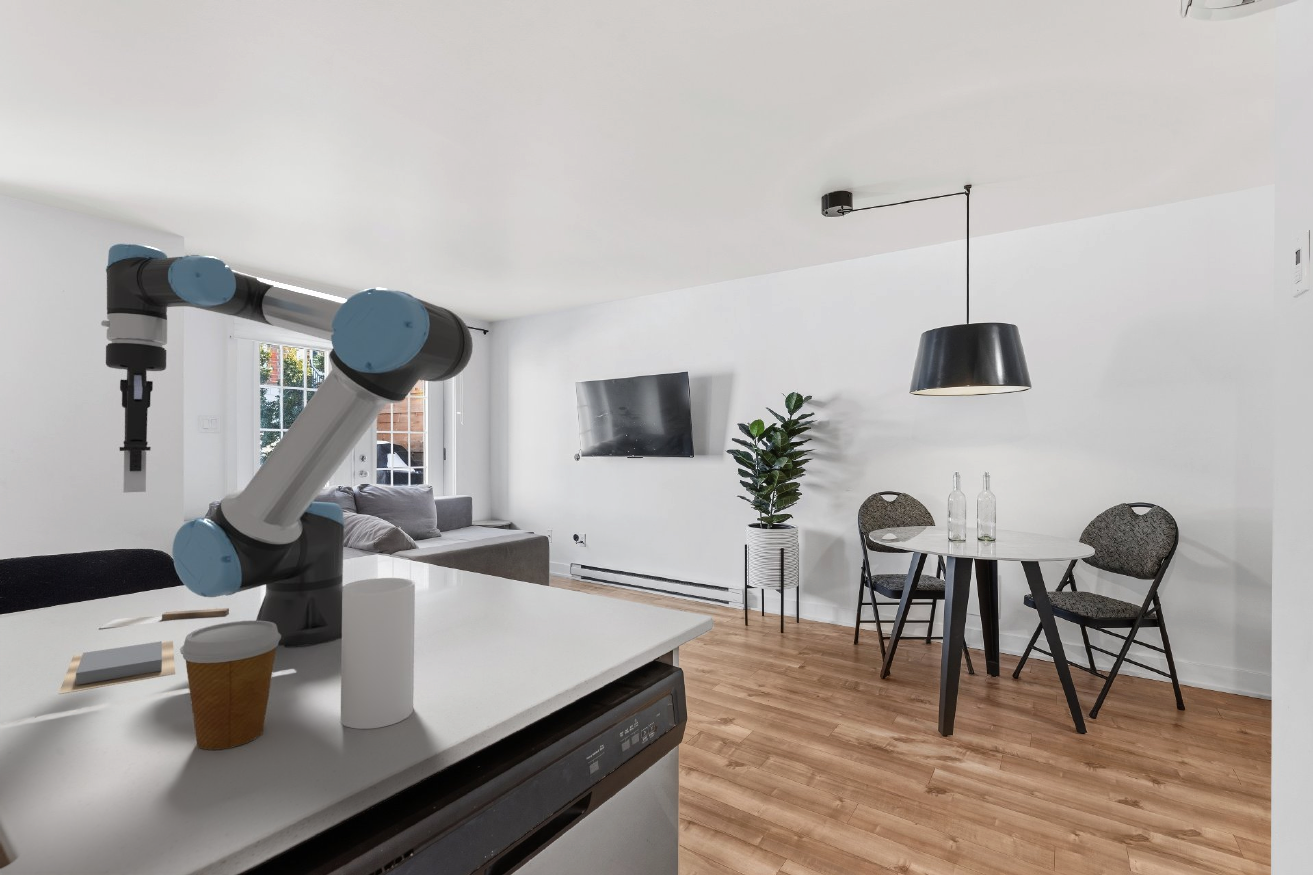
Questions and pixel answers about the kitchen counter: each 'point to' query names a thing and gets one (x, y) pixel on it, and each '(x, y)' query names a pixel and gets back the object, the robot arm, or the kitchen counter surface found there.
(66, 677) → the board
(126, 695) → the kitchen counter surface
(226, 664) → the disposable coffee cup
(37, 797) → the kitchen counter surface
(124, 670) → the tile
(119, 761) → the kitchen counter surface
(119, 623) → the turner
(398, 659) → the cup
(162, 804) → the kitchen counter surface
